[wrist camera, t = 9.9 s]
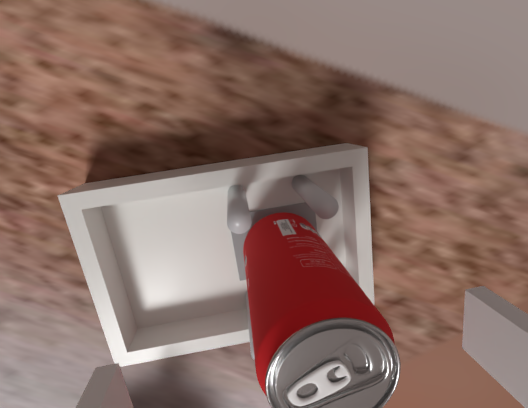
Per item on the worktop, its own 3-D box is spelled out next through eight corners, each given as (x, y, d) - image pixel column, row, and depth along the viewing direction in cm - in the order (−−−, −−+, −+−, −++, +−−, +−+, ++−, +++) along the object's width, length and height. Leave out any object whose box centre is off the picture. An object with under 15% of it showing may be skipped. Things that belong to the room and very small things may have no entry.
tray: (131, 333, 24) (93, 417, 17) (84, 183, 21) (14, 215, 14) (356, 291, 25) (402, 354, 18) (346, 142, 22) (399, 154, 15)
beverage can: (327, 252, 23) (429, 392, 11) (265, 287, 23) (303, 461, 11) (293, 193, 21) (371, 285, 10) (228, 232, 21) (228, 366, 10)
